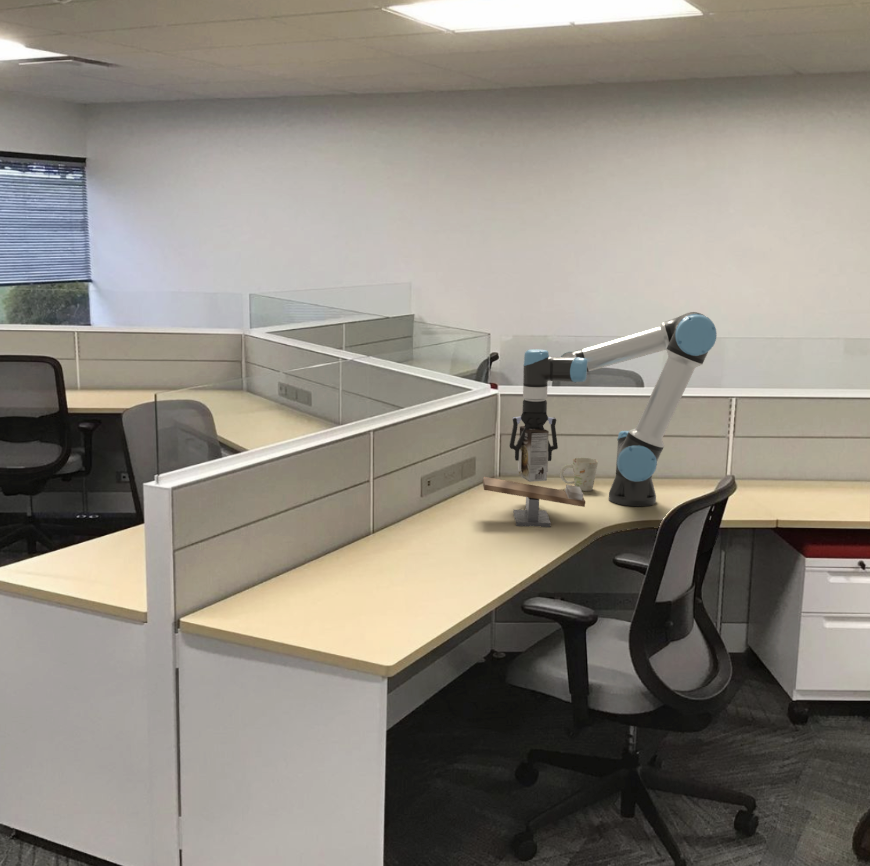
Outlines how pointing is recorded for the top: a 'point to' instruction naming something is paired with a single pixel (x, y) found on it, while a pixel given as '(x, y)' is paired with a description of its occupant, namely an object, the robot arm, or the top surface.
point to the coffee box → (534, 455)
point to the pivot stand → (531, 515)
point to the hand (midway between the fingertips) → (532, 470)
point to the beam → (536, 491)
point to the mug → (582, 473)
